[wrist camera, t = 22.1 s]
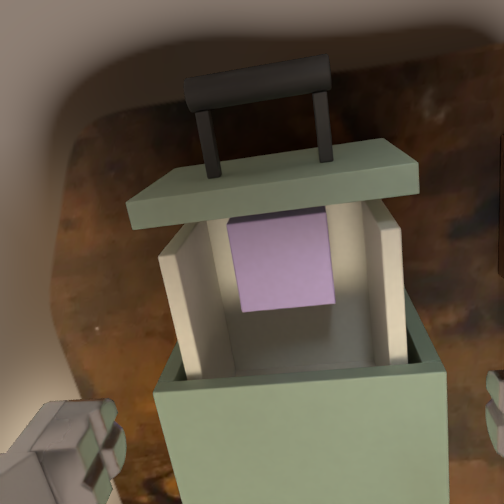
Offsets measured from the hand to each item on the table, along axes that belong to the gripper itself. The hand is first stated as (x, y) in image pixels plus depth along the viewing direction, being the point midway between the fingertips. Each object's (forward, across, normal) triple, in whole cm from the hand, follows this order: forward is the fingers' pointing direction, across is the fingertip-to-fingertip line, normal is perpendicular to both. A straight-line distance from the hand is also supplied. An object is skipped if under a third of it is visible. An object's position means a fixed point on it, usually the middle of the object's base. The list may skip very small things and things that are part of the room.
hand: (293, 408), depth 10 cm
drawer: (+17, +1, +2) cm, 17 cm away
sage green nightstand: (+18, +1, +13) cm, 22 cm away
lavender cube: (+16, +1, +1) cm, 16 cm away
